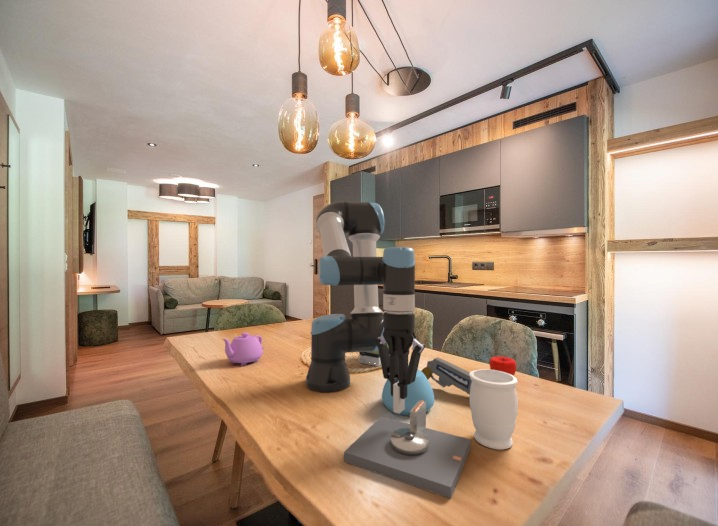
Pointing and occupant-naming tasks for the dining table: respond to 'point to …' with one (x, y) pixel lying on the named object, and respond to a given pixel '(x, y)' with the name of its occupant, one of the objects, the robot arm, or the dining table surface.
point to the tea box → (370, 358)
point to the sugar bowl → (411, 394)
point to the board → (411, 457)
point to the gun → (448, 374)
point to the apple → (503, 364)
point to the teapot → (244, 349)
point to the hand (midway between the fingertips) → (398, 410)
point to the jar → (493, 407)
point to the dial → (412, 433)
